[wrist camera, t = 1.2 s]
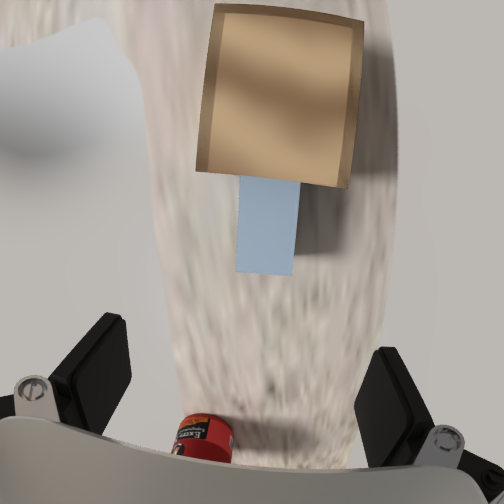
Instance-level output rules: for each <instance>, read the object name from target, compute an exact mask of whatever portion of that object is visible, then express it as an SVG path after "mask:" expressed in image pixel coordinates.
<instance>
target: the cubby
mask: <svg viewBox="0 0 504 504" xmlns="http://www.w3.org/2000/svg"><path fill="white" fill-rule="evenodd" d="M363 40H364V21H360V20H356V19H351V18H347V17H342V16H337V15H332V14H327V13H321V12H315V11H309V10H302V9H294V8H286V7H276V6H265V5H250V4H215V6H214V12H213V19H212V25H211V32H210V39H209V46H208V54H207V61H206V69H205V78H204V86H203V95H202V104H201V114H200V124H199V135H198V146H197V158H196V171H197V172H210V173H221V174H232V175H242V176H252V177H261V178H270V179H279V180H287V181H295V182H302V183H310V184H317V185H324V186H331V187H337V188H344V189H348V185H349V179H350V172H351V165H352V157H353V150H354V142H355V134H356V125H357V116H358V106H359V96H360V84H361V72H362V57H363Z"/></svg>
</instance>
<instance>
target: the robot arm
mask: <svg viewBox="0 0 504 504" xmlns="http://www.w3.org/2000/svg"><path fill="white" fill-rule="evenodd" d="M131 377H132V372H131V365H130V358H129V349H128V340H127V331H126V322H125V320H124V319H122V317H121V316H120V315H118V314H113V313H108V312H106V313H105V314H104V315H103V316H102V317H101V318H100V319H99V320H98V321H97V322H96V324H95V325H94V326H93V327H92V328H91V329H90V330H89V331H88V332H87V334H86V335H85V336H84V337H83V338H82V339H81V340H80V342H79V343H78V344H77V345H76V346H75V347H74V348H73V349H72V351H71V352H70V353H69V354H68V355H67V356H66V358H65V359H64V360H63V361H62V362H61V364H60V365H59V366H58V367H57V368H56V369H55V370H54V372H53V373H52V374H51V375H50V376H49V378H48V379H46V378H44V377H42V376H38V375H31V376H27V377H24V378H22V379H21V380H20V381H18V382H17V383H16V385H15V387H14V394H13V395H8V396H3V397H0V504H504V470H503V469H502V468H501V467H499V466H498V465H496V464H494V463H491V462H489V461H487V460H485V459H483V458H481V457H479V456H477V455H475V454H473V453H470V452H468V451H467V450H464V445H465V441H464V437H463V436H462V434H461V433H460V432H459V431H458V430H457V429H455V428H454V427H452V426H448V425H438V426H435V425H434V422H433V420H432V417H431V415H430V413H429V411H428V409H427V407H426V405H425V403H424V401H423V399H422V397H421V395H420V393H419V391H418V389H417V387H416V385H415V383H414V381H413V379H412V377H411V376H410V374H409V372H408V370H407V368H406V366H405V364H404V362H403V360H402V359H401V357H400V355H399V353H398V351H397V349H396V348H395V347H380V348H379V349H378V350H375V351H374V353H373V356H372V359H371V361H370V364H369V367H368V370H367V372H366V375H365V377H364V380H363V383H362V385H361V388H360V390H359V393H358V395H357V397H356V400H355V403H354V410H355V414H356V418H357V422H358V426H359V430H360V433H361V438H362V442H363V446H364V450H365V454H366V458H367V462H368V467H369V468H358V469H287V468H270V467H257V466H247V465H238V464H230V463H222V462H215V461H209V460H203V459H197V458H191V457H186V456H181V455H176V454H171V453H166V452H161V451H157V450H153V449H149V448H145V447H141V446H137V445H133V444H130V443H126V442H122V441H118V440H115V439H112V438H108V437H105V436H102V433H103V432H104V430H105V428H106V426H107V424H108V422H109V420H110V418H111V416H112V415H113V413H114V411H115V409H116V407H117V406H118V404H119V402H120V400H121V398H122V396H123V394H124V393H125V391H126V389H127V387H128V385H129V383H130V381H131Z"/></svg>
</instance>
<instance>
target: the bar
mask: <svg viewBox="0 0 504 504" xmlns="http://www.w3.org/2000/svg"><path fill="white" fill-rule="evenodd" d="M300 184H301V182H295V181H287V180H279V179H270V178H261V177H252V176H242V175H240V190H239V211H238V234H237V259H236V272H243V273H257V274H272V275H287V276H292V268H293V259H294V249H295V239H296V229H297V218H298V207H299V196H300Z"/></svg>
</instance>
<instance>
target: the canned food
mask: <svg viewBox="0 0 504 504" xmlns="http://www.w3.org/2000/svg"><path fill="white" fill-rule="evenodd" d="M233 442H234V435H233V432H232V429H231V427H230V426H229V425H228V424H227V423H226V422H224V421H223V420H221V419H219V418H217V417H214V416H211V415H207V414H194V415H190V416H188V417H186V418H185V419H184V420H183V421H182V422H181V424H180V426H179V429H178V433H177V436H176V440H175V442H174V446H173V449H172V452H171V454H176V455H181V456H186V457H191V458H197V459H203V460H209V461H215V462H222V463H230V464H231V458H232V450H233Z"/></svg>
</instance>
